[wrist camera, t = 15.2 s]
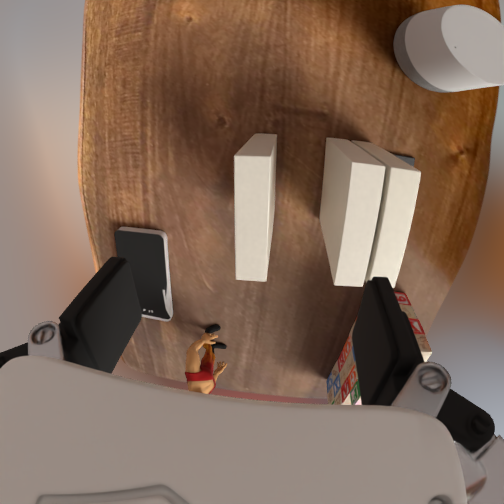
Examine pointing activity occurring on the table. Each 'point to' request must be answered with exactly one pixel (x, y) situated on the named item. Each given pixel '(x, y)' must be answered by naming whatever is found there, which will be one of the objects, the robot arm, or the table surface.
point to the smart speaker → (451, 49)
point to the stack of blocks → (344, 371)
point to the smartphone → (148, 269)
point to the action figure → (203, 363)
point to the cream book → (254, 205)
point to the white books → (366, 210)
